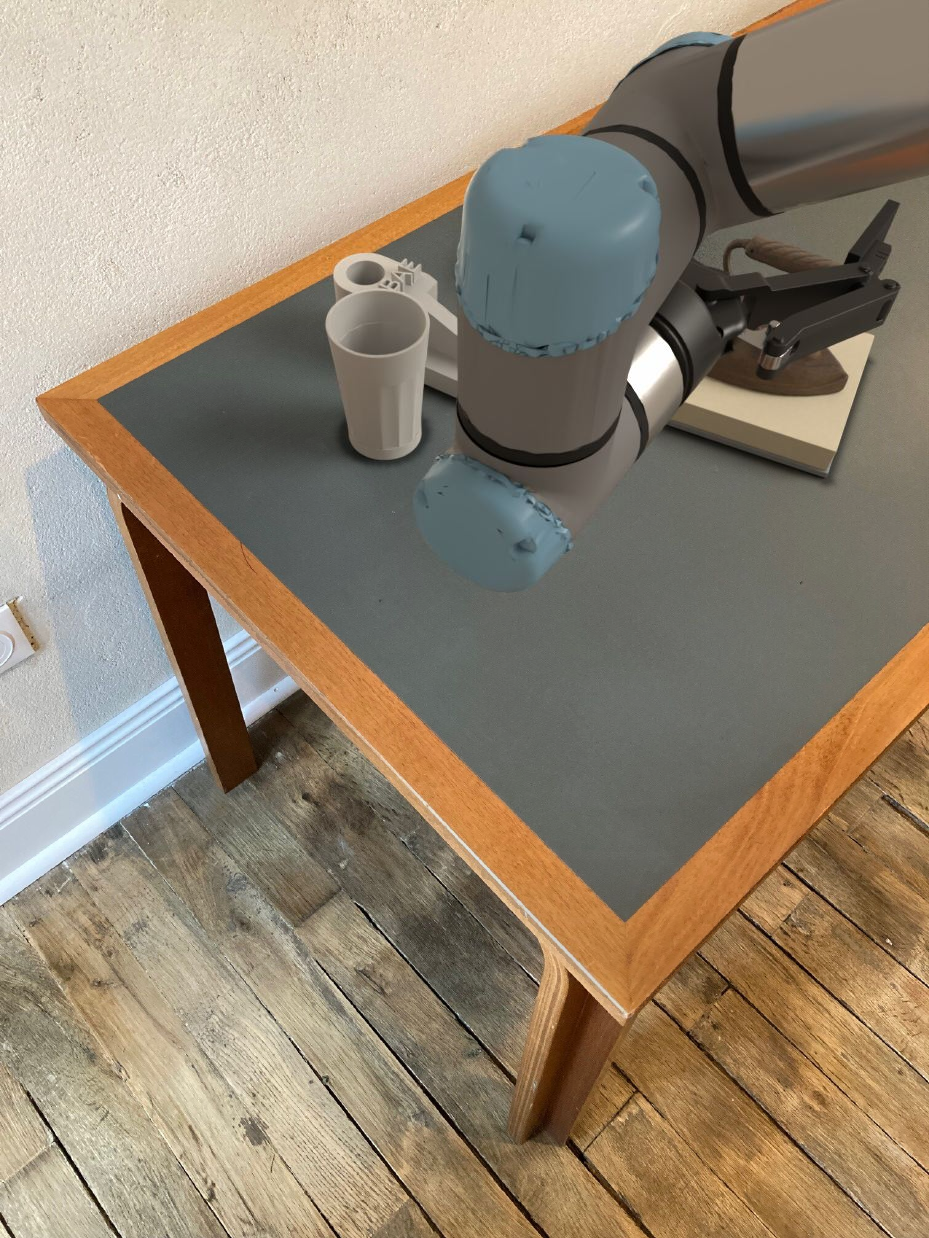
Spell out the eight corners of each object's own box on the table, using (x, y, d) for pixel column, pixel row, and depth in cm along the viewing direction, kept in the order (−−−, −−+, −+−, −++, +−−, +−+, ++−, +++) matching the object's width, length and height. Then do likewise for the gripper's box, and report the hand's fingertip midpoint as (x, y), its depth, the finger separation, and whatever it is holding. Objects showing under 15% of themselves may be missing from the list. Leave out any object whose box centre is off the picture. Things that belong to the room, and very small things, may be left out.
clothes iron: (673, 363, 83) (702, 255, 74) (717, 303, 88) (750, 195, 78) (822, 426, 79) (872, 321, 70) (860, 360, 84) (912, 253, 75)
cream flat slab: (865, 360, 88) (877, 334, 86) (825, 478, 80) (838, 454, 78) (678, 302, 92) (685, 277, 90) (622, 410, 84) (628, 385, 82)
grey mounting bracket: (494, 414, 83) (498, 343, 77) (328, 341, 88) (319, 268, 81) (524, 377, 86) (532, 305, 79) (362, 307, 91) (356, 234, 84)
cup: (372, 388, 85) (364, 275, 75) (448, 422, 83) (449, 311, 73) (321, 443, 81) (304, 332, 71) (398, 480, 79) (392, 372, 69)
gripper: (440, 331, 58) (611, 172, 68) (815, 512, 51) (947, 304, 60) (440, 223, 52) (628, 64, 62) (867, 411, 45) (1005, 197, 54)
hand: (786, 183), depth 61 cm, fingers open, 13 cm apart
